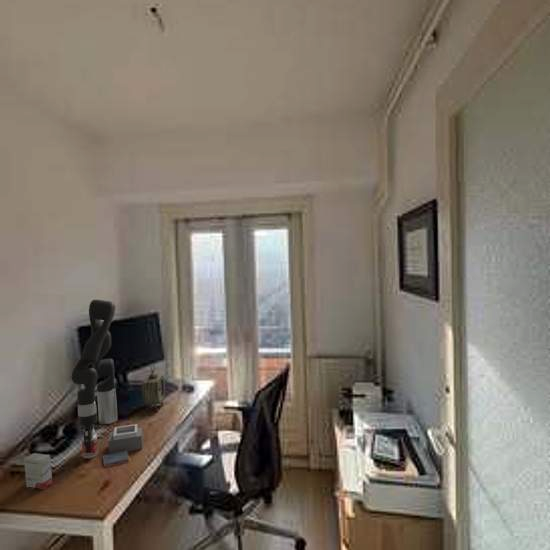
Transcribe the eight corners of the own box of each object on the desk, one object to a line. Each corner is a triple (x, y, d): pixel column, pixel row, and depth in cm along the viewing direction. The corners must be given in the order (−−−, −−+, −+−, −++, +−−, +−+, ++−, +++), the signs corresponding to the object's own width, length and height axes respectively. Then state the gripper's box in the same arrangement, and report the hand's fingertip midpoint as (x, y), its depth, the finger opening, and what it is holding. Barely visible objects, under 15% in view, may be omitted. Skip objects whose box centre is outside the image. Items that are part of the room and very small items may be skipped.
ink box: (53, 483, 170) (51, 454, 169) (43, 490, 165) (40, 460, 165) (36, 481, 173) (34, 452, 172) (25, 487, 168) (23, 457, 167)
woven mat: (104, 469, 180) (104, 464, 180) (102, 459, 190) (101, 454, 190) (130, 463, 185) (130, 458, 185) (127, 453, 194) (126, 448, 194)
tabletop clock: (159, 412, 241) (156, 368, 239) (142, 413, 241) (139, 368, 240) (166, 403, 255) (163, 361, 254) (150, 404, 255) (147, 362, 254)
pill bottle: (96, 457, 190) (95, 432, 190) (81, 459, 189) (79, 435, 188) (99, 451, 196) (97, 427, 196) (84, 453, 195) (82, 429, 194)
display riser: (111, 444, 202) (110, 428, 202) (142, 439, 206) (141, 423, 206) (109, 454, 193) (108, 436, 192) (142, 448, 197) (141, 431, 196)
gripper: (94, 417, 186) (97, 454, 187) (98, 406, 199) (101, 440, 200) (75, 419, 184) (78, 457, 184) (80, 408, 197) (83, 443, 198)
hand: (90, 448), depth 192 cm, fingers open, 8 cm apart
